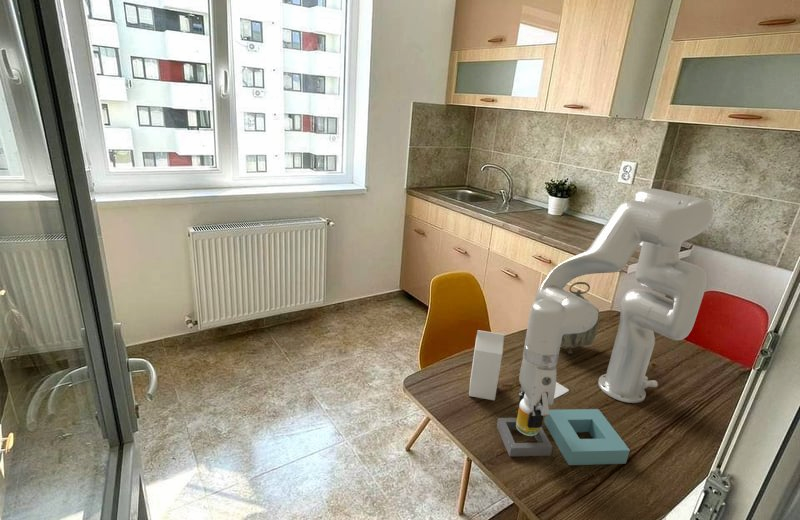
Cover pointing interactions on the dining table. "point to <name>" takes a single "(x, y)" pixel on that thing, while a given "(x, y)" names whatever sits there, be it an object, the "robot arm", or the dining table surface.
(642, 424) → the dining table surface
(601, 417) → the socket block
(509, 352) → the dining table surface
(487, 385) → the milk carton
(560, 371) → the dining table surface
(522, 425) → the supplement bottle
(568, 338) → the tabletop clock
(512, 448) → the grey picture frame
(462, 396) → the dining table surface
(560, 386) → the smartphone
